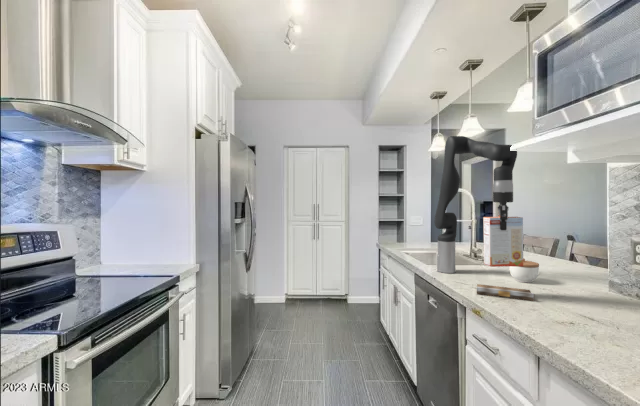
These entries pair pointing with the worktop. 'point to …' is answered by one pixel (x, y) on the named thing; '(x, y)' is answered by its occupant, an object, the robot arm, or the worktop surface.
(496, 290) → the brown book
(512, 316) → the worktop surface
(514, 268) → the lidded bowl
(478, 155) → the robot arm
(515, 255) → the cracker box
